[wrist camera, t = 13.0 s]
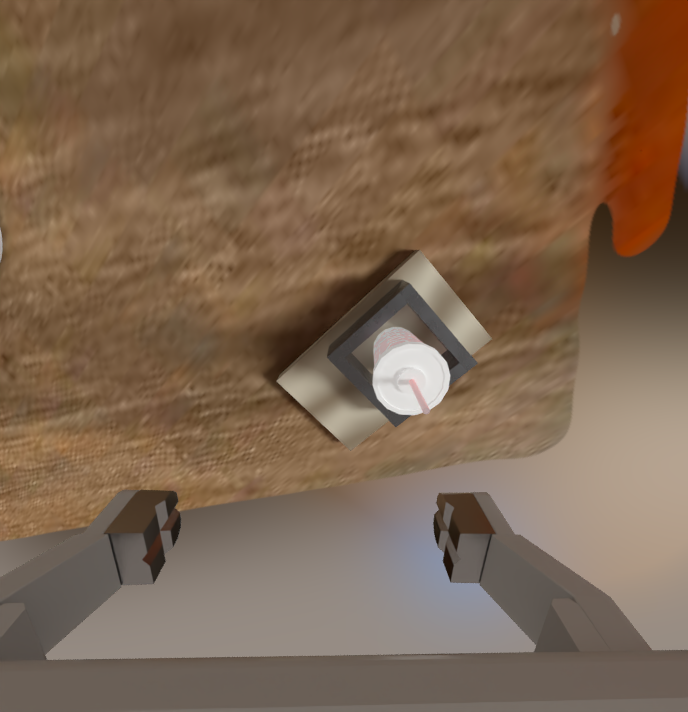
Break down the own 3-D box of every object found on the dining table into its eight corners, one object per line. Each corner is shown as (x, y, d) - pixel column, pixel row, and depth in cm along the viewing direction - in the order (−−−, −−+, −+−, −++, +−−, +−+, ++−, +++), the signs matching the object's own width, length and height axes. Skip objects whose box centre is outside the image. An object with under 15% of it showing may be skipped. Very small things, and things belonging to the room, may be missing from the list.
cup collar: (328, 345, 34) (326, 357, 30) (402, 279, 32) (409, 283, 28) (390, 408, 36) (395, 427, 32) (463, 350, 34) (477, 363, 30)
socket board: (279, 374, 37) (276, 381, 35) (415, 250, 33) (419, 249, 31) (350, 441, 40) (350, 450, 38) (484, 334, 36) (492, 338, 34)
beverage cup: (422, 315, 33) (473, 359, 20) (426, 371, 35) (475, 446, 21) (362, 324, 33) (373, 373, 20) (369, 378, 35) (383, 457, 22)
